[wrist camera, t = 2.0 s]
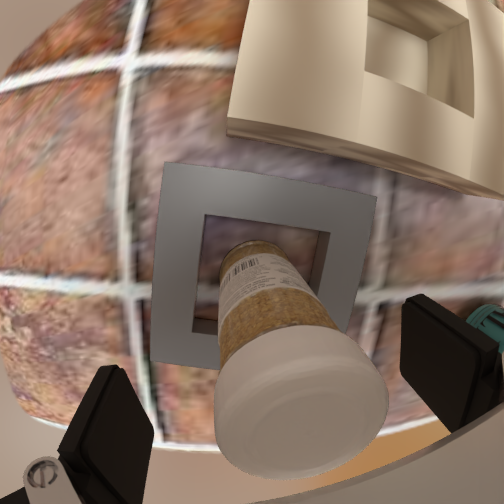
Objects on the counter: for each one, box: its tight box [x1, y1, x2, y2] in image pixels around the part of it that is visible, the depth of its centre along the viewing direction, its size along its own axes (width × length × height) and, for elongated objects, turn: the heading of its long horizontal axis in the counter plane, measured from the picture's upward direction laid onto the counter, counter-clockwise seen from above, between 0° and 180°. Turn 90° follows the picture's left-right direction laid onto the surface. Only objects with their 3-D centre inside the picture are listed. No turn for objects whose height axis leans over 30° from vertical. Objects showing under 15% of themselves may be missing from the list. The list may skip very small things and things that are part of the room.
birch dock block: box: [227, 0, 504, 200], centre depth 14 cm, size 18×14×6 cm
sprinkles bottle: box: [214, 240, 389, 480], centre depth 13 cm, size 5×5×13 cm
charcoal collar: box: [150, 162, 377, 370], centre depth 19 cm, size 12×12×2 cm
